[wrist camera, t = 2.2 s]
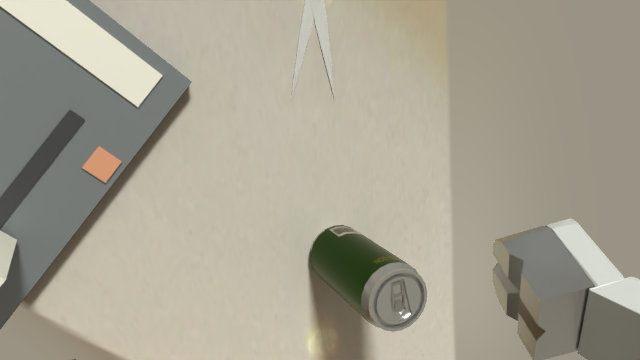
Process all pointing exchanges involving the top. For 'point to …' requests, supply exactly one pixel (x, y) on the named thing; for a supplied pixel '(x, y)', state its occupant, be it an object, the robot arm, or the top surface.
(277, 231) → the top surface
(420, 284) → the guarana soda can
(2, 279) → the switch tab
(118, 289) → the top surface
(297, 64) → the scissors
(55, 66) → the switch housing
